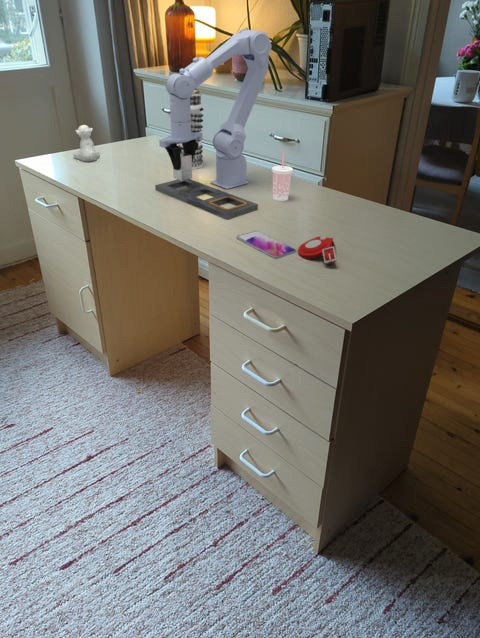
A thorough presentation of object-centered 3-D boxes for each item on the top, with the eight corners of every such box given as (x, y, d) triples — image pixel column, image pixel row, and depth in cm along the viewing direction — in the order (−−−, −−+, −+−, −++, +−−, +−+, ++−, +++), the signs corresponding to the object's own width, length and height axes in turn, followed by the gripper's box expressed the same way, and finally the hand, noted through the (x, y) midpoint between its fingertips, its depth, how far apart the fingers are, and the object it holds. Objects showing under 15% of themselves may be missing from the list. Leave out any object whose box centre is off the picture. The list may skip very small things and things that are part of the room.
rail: (185, 182, 166) (185, 176, 165) (257, 209, 147) (257, 203, 146) (155, 190, 159) (155, 184, 158) (227, 219, 140) (227, 213, 139)
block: (183, 175, 159) (182, 152, 156) (192, 178, 157) (191, 154, 153) (173, 177, 157) (172, 154, 153) (181, 181, 155) (181, 157, 151)
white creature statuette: (99, 155, 190) (95, 121, 184) (104, 161, 183) (100, 126, 177) (73, 157, 187) (68, 122, 180) (77, 163, 180) (72, 128, 174)
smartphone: (256, 230, 134) (297, 250, 124) (256, 233, 134) (297, 253, 124) (235, 236, 130) (275, 257, 120) (234, 239, 130) (275, 260, 120)
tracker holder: (288, 250, 123) (312, 229, 127) (293, 266, 125) (316, 245, 130) (330, 255, 114) (354, 233, 119) (334, 272, 117) (358, 249, 121)
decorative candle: (189, 160, 187) (187, 85, 174) (209, 165, 183) (208, 88, 169) (172, 166, 181) (168, 88, 167) (192, 171, 176) (190, 92, 163)
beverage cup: (294, 198, 156) (298, 151, 148) (281, 203, 152) (285, 155, 145) (278, 193, 159) (282, 147, 152) (266, 198, 156) (268, 150, 148)
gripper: (191, 115, 155) (192, 160, 162) (151, 121, 146) (154, 169, 153) (206, 119, 151) (207, 165, 158) (167, 125, 142) (169, 175, 149)
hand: (182, 168), depth 155 cm, fingers closed on block, 4 cm apart
